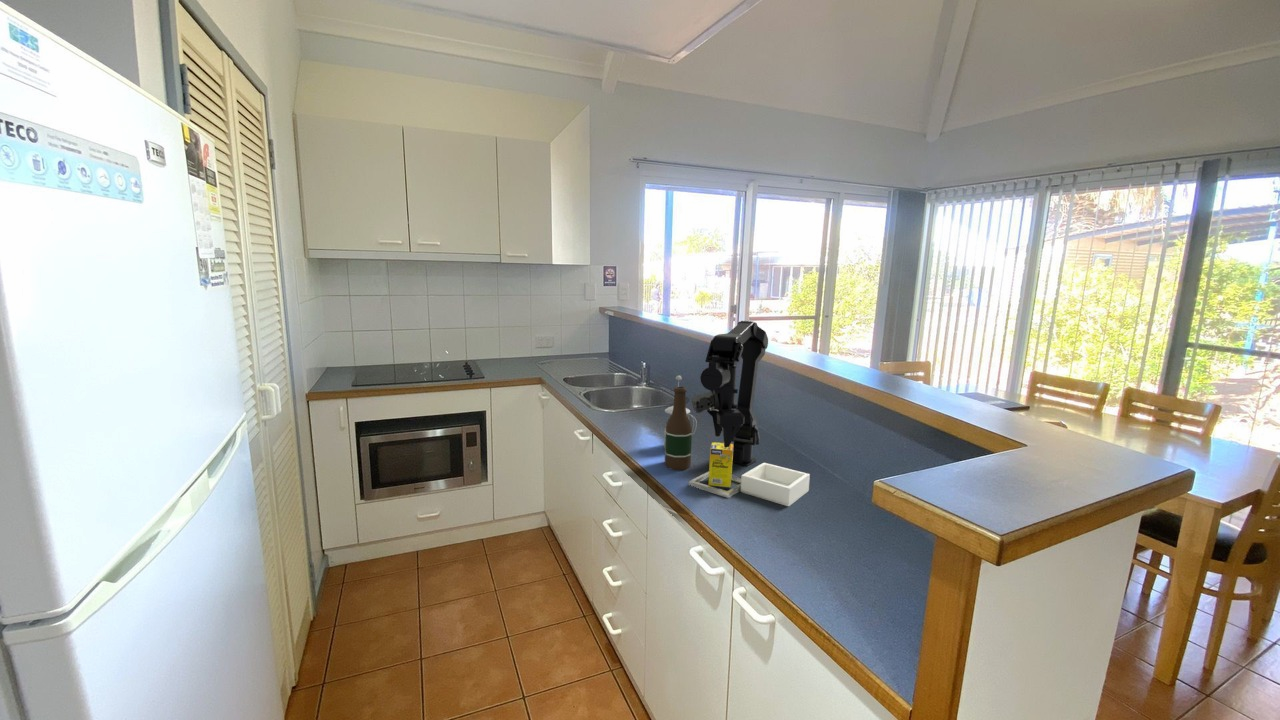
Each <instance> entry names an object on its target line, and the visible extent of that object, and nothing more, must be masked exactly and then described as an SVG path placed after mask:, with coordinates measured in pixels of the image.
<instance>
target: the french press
mask: <svg viewBox="0 0 1280 720" xmlns="http://www.w3.org/2000/svg"><path fill="white" fill-rule="evenodd" d="M682 379H683V378H682V375H676V377H675V380H677V381H678V383H677V387H680V381H681V380H682ZM672 411H673V405H672V406H668V407H667V408H665V409H664V412H665V413H666V414H668V415H670V416H671V415H672ZM690 413H691V410H690V409H689V408H687V407H686V415H687V416H688V419H689V420H690V417H691V418H692V421H693V423H692V424H693V426H692V431H693V430H694V431H693V432H692V436H693V435H694V434H695V432H696V431H697V427H698V422H697V418H696V417H695V416H694V415H692V414H690ZM666 424H667V421H666V422H665V426H664V437H665V436H666ZM694 428H695V429H694ZM663 443H664V446H663V448H664V449H665V439H664V442H663Z"/></svg>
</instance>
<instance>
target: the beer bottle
mask: <svg viewBox="0 0 1280 720" xmlns="http://www.w3.org/2000/svg"><path fill="white" fill-rule="evenodd" d="M673 392H674V394H673V405H672V406H673V411H672V415H671V414H670V416H669V418H668V419H667V421H666V422H667V424H666V423H665V426H666V436H665V435H664V440H665V448H664V465H665V467H666V468H667V469H671V470H672V471H673V470H674V471H686V470H688V469H690V468H691V466H692V465H691V463H692V462H691V461H692V440H693V439H692V438H693V437H692V436H693V435H692V434H693V430H692V428H693V426H692V424H691V421H690V418H689V416H688V414H687V415H686V408H687V404H686V403H687V401H686V399H687V398H686V393H687V388H686V387H684V386H679V387H678V386H676V387H674V388H673ZM688 418H689V419H688Z"/></svg>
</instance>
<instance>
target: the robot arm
mask: <svg viewBox="0 0 1280 720" xmlns="http://www.w3.org/2000/svg"><path fill="white" fill-rule="evenodd" d="M768 345H769V337H768V335H767V332H766V331H765V330H763V329H762V328H761V327H759V325H758V323H757V322H755V321H754V320H753V321H751V320H741V321H738V322H737V325H736V326H735V327H733V328H732V329H731V330H730V331H729V332H727V333H719V334H716V335H714V337H713V338H712V339H711V340H710V343H709V347H708V350H707V354H706V358H705V363H708V367H706V368H705V369H704V370H703V371H702V372H701V374H700V377H699V379H700V383H701V385H702V387H703V388H705V390H708V392H704V393H701V394H697V395H696V396H693V397H691V398H690V401H691V405H692V408H693V410H694V411H695V413H696V414H700V413H702V412H703V411H706V412H707V413H708V414H709V415H710V417H711V421H712V425H713V426H712V427H713V431H714V435H715V437H720V436H721V434H722V439H723V440H722V441H723V443H724V447H729V445H730V444H733V460H732V464H733V463H734V464H738V465H741V466H746V467H748V466H750V465H751V464H753V463H755V462H757V459H756V458H753V448H754V447H753V446H756V445H760V441H761V439H760V436H761V435H760V432H759V427H758V424H757V418H756V415H755V414H754V412H753V406H754V401H755V400H754V399H755V398H754V397H755V393H756V392H755V390H756V383H757V375H758V367H759V363H760V361H761V360H762V359H763V357H764V356H765V354H766V350H767V348H768ZM741 359H742V363H741V370H740V372H741V373H740V380H739V389H737V388H736V383H737V364H738V363H739V362H740V360H741ZM736 394H737V395H738V396H737V404H736Z"/></svg>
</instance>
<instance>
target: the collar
mask: <svg viewBox="0 0 1280 720" xmlns="http://www.w3.org/2000/svg"><path fill="white" fill-rule="evenodd" d="M741 478H742V476H741V477H740V476H738V475H734V474H732V475H731V482H732V481H733V482H735V483H738V484H737V485H736V486H734V487H732V488H731V489H730V490H725V489H718V488H715V487H712V486H708V484H704V483H701V482H702V481H704V480H706V479H709V470H708V471H706V472H705V473H702V474H700V475H699V476H697V477H695V478H692V479H690V480H689V481H688V486H690V485H691V486H690V487H693V486H694V487H693V488H695V487H696V489H698V488H699V489H698V490H703V491H704V492H705V491H706V492H708V493H712V494H715V495H716V496H717V495H718V496H720V497H724V498H728V499H730V498H732V496H734V495H736V494H738V493H739V492H741ZM700 481H701V482H700Z"/></svg>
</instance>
